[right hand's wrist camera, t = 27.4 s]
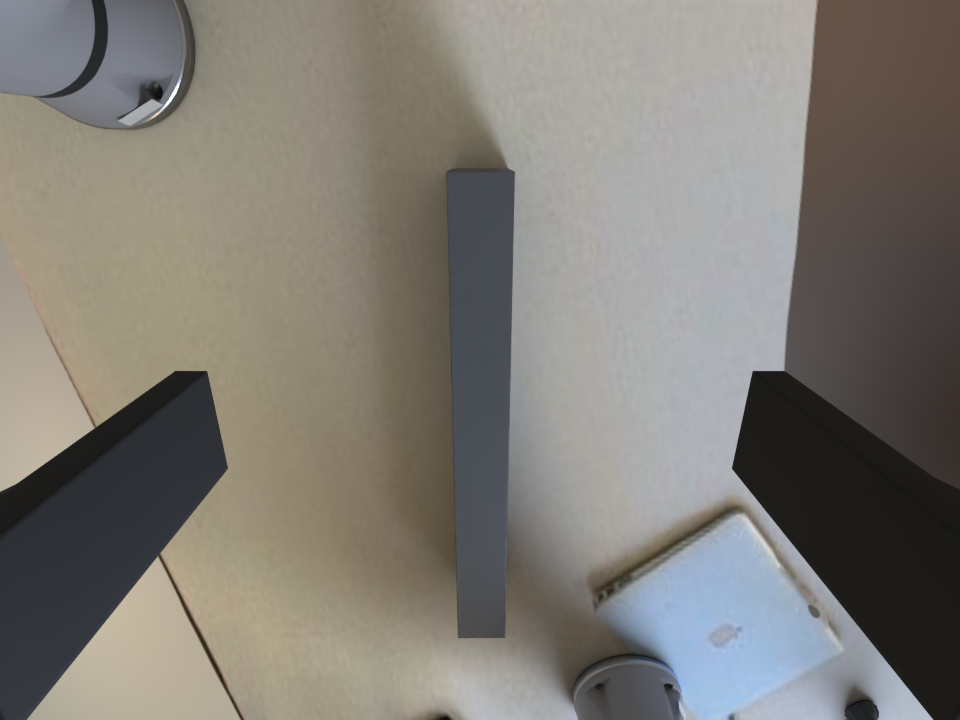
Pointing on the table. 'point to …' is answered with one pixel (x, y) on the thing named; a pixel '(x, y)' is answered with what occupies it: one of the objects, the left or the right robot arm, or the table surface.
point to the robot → (862, 711)
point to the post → (480, 388)
